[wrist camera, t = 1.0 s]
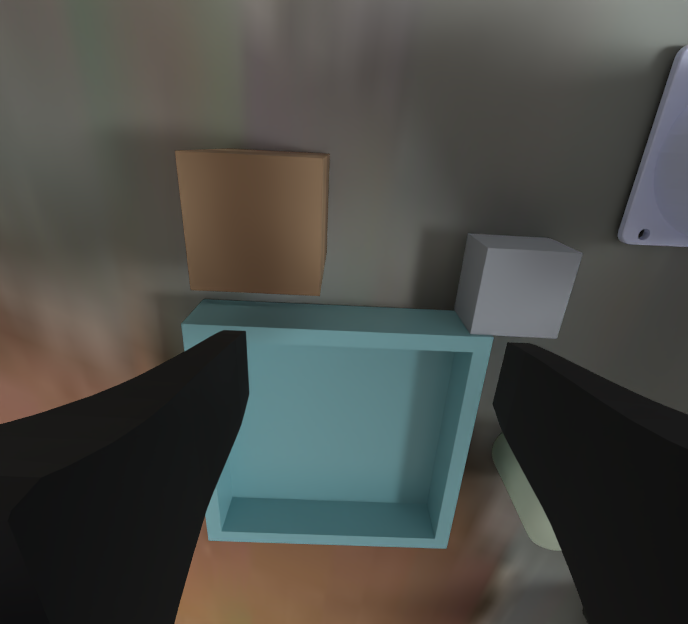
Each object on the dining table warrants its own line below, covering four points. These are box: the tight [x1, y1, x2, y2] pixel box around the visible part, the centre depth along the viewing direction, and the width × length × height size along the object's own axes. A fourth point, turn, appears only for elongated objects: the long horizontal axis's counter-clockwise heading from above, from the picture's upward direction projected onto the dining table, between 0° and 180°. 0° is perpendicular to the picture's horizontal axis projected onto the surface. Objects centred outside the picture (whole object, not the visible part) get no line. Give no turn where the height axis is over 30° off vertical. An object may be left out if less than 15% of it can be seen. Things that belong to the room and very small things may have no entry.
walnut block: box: [175, 148, 330, 296], centre depth 16 cm, size 4×4×6 cm
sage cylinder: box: [492, 432, 562, 551], centre depth 22 cm, size 4×4×5 cm
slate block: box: [454, 233, 583, 339], centre depth 18 cm, size 4×4×3 cm
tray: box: [181, 299, 494, 549], centre depth 22 cm, size 14×14×3 cm
